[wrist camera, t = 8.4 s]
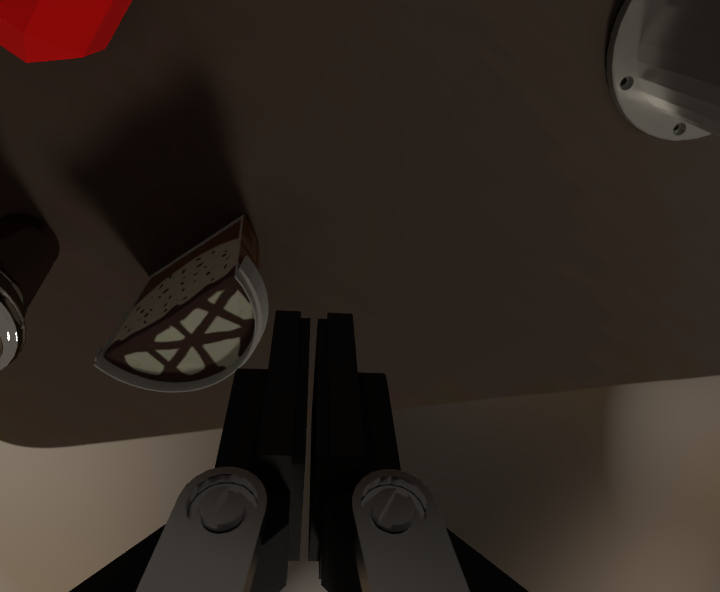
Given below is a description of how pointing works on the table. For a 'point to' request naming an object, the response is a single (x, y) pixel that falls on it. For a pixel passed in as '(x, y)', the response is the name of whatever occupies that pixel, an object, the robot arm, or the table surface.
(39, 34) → the ball
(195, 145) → the table surface
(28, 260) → the cup with straw
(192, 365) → the food container
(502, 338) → the table surface
